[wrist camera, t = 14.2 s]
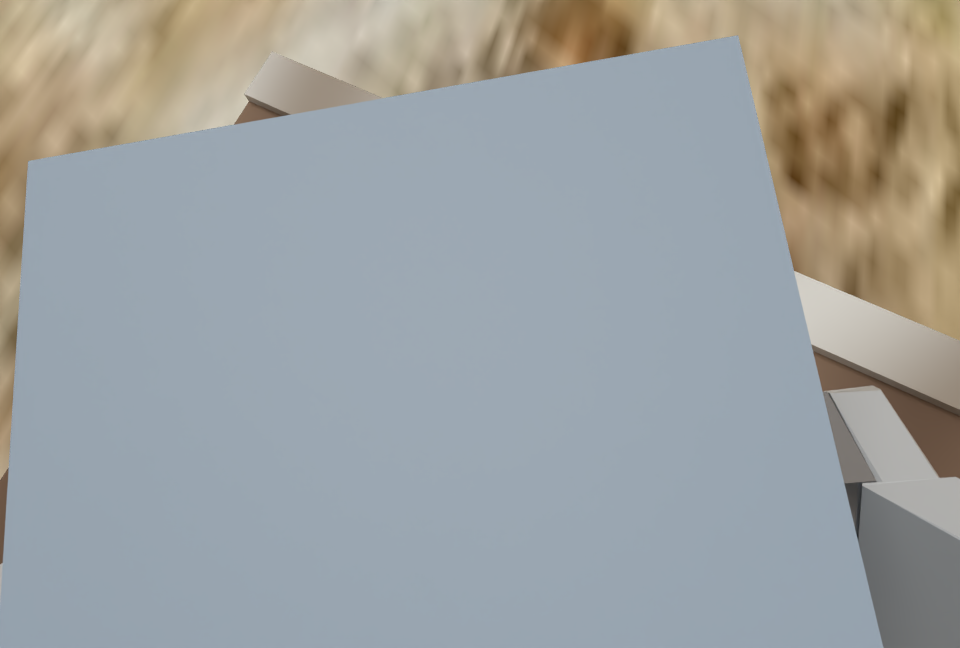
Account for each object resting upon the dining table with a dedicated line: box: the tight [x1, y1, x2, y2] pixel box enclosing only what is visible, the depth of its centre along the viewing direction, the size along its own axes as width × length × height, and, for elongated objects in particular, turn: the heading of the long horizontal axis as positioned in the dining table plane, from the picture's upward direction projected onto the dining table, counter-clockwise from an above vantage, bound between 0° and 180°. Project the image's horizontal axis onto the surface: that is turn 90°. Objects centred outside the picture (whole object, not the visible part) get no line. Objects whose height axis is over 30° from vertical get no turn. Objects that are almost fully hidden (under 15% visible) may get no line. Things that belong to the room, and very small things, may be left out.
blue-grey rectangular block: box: [0, 36, 883, 648], centre depth 10 cm, size 5×5×10 cm
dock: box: [0, 52, 960, 564], centre depth 19 cm, size 17×14×5 cm
